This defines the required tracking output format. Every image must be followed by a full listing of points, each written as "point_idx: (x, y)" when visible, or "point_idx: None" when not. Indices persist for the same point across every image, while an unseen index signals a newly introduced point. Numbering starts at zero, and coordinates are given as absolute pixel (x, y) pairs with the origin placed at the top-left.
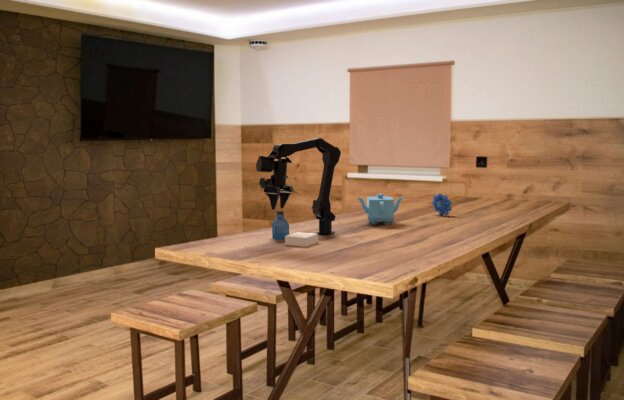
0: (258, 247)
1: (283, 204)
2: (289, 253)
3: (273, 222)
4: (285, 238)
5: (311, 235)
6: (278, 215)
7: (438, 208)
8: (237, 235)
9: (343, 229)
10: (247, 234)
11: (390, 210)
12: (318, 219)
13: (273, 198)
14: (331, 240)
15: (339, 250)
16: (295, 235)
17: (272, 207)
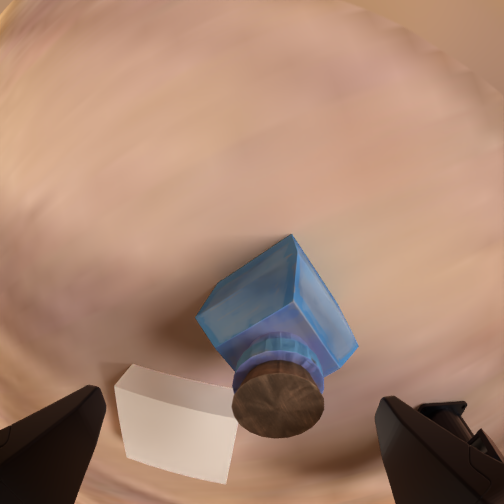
0: (45, 270)
1: (389, 460)
2: (40, 393)
3: (276, 278)
4: (119, 381)
5: (178, 471)
6: (234, 377)
7: None
8: (299, 9)
9: (497, 425)
10: (350, 45)
11: None
12: (466, 442)
13: (9, 491)
14: (285, 480)
15: (141, 493)
16: (147, 424)
17: (74, 405)
